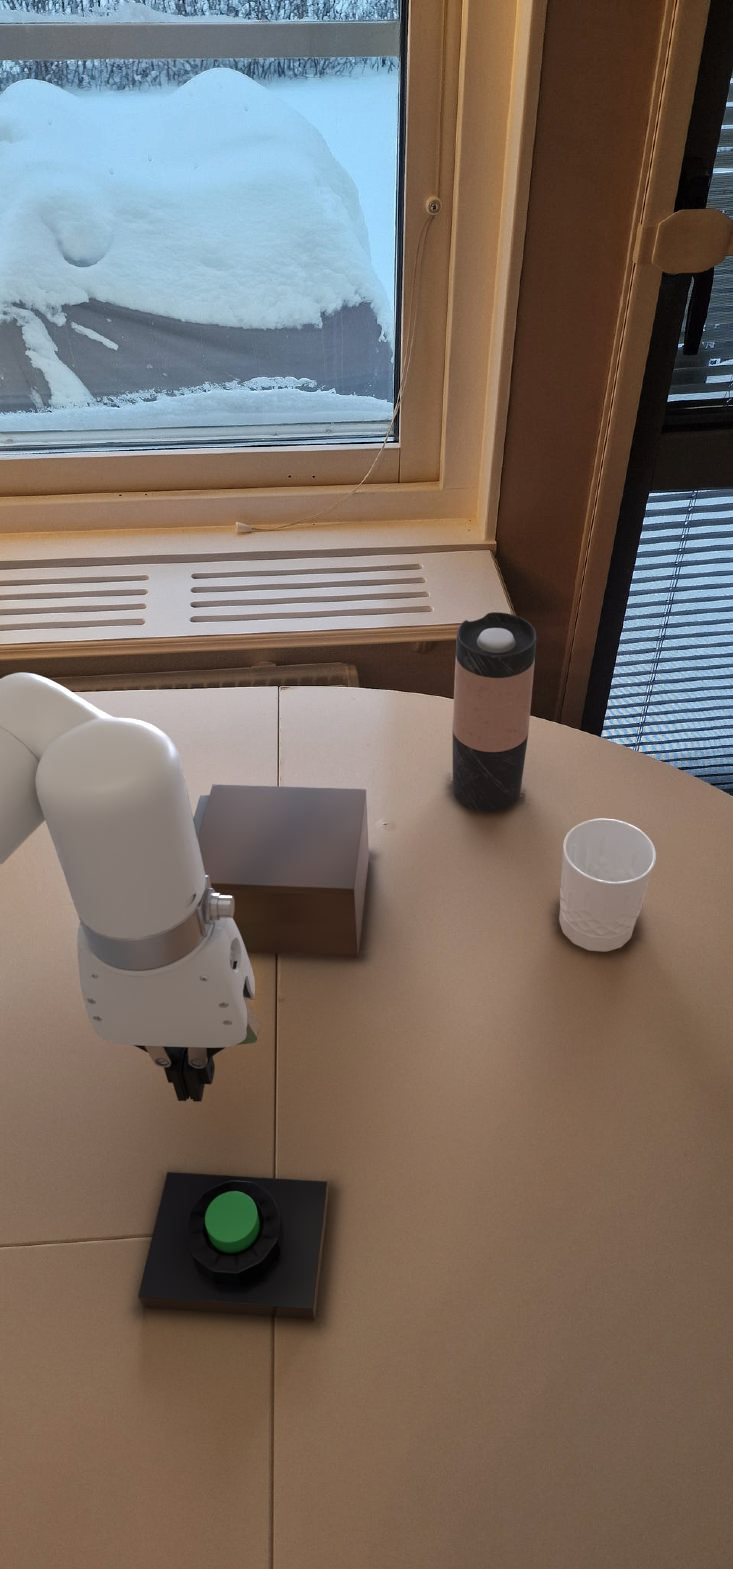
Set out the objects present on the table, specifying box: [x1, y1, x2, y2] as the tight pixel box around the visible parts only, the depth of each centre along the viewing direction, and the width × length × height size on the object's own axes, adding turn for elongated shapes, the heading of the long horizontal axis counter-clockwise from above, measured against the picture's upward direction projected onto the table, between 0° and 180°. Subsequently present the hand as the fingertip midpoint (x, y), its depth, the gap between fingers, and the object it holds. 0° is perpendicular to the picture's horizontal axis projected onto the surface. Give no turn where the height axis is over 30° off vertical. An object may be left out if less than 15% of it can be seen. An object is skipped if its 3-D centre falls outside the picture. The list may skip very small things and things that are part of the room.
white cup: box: [558, 818, 657, 953], centre depth 93 cm, size 8×8×10 cm
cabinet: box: [198, 783, 370, 959], centre depth 96 cm, size 15×13×10 cm
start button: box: [205, 1191, 260, 1253], centre depth 72 cm, size 4×4×2 cm
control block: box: [138, 1171, 330, 1321], centre depth 73 cm, size 12×9×4 cm
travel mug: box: [451, 611, 537, 813], centre depth 103 cm, size 8×8×20 cm
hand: (194, 1082), depth 73 cm, fingers closed
